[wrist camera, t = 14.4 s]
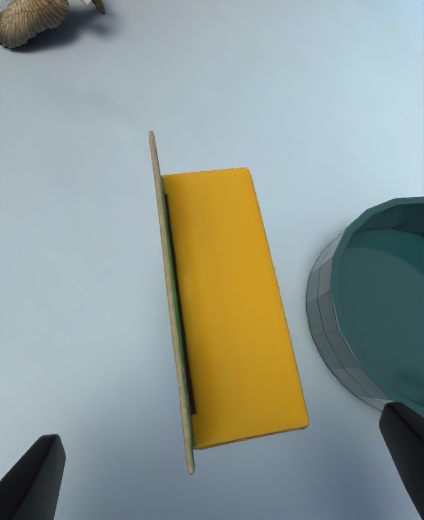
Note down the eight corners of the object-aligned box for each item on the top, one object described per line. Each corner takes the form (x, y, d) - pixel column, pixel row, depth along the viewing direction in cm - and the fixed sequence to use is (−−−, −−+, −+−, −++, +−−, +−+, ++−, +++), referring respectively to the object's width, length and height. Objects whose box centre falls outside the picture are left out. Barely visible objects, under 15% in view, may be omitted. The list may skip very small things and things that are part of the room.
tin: (514, 281, 19) (579, 262, 16) (470, 465, 16) (544, 489, 12) (347, 196, 21) (376, 163, 18) (273, 347, 17) (292, 341, 14)
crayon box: (246, 400, 16) (356, 453, 5) (188, 410, 16) (179, 489, 5) (222, 266, 19) (265, 116, 8) (172, 273, 18) (142, 126, 7)
